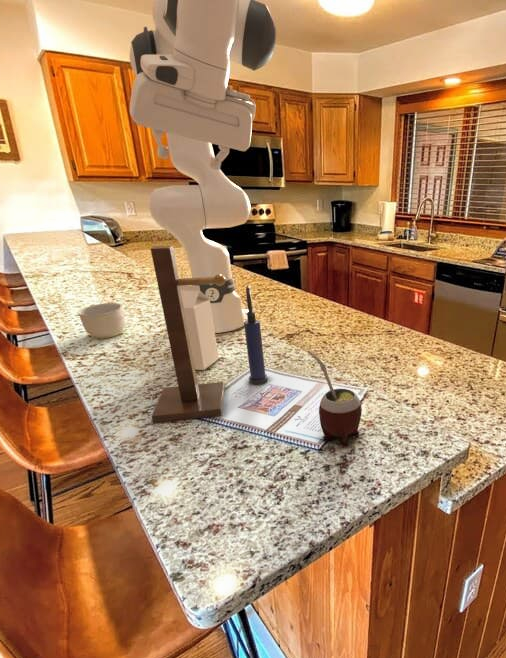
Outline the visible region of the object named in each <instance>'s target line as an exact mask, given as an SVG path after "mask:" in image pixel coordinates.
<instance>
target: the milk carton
mask: <svg viewBox="0 0 506 658" xmlns="http://www.w3.org/2000/svg"><path fill="white" fill-rule="evenodd" d="M180 289H181V294H182V300H183V305H184V311H185V316H186V322H187V327H188V333H189V338H190V344H191V349H192V355H193V360H194V366H195V371H196V370H197V371H205V370H207V369H208V368H209V367H210V366H212V365H213V364H214V363H216V362H217V361H218V360H219V351H218V345H217V338H216V333H215V330H214V324H213V317H212V311H211V304H210V299H209V298H208V297H206V296H205V295H204V294H203V293H202V292H201V291H200V287H199V286H193V285H184V286H180Z"/></svg>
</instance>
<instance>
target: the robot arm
mask: <svg viewBox="0 0 506 658" xmlns="http://www.w3.org/2000/svg"><path fill="white" fill-rule="evenodd" d="M152 21H153V24H154V30H153V29H151V30H148V27H147V26H144V27H143V31H142V32H140V33H138V34H136V35H135V36H134V37H133V39H132V40H131V42H130V43H131V45H130V47H129V63H130V66H131V69H132V72H133V75H134V76H135V78H134V80H133V84H132V88H131V94H130V102H129V114H130V117H131V119H132V120H133V122H134V123H135V124H136V125H137V126H140V127H144V128H148V129H151V133H152V135H153V138H154V140H155V142H156V144H157V149H156V151H157V157H158V158H160V159H165V160H169V159H168V158H170V162H171V163H172V165H173V167H174V168H175V169H176V170H177V171H178V172H180V173H181V174H182V175H185V176H186V177H188V178H191V179H192V180H194V181H195V182H196V183H197V184H183V185H181V184H177V185H176V184H175V185H173V184H172V185H168V186H162V187H158V188H155V189H154V190H153V191H152V192H151V194H150V196H149V199H148V210H149V213H150V215H151V217H152V219H153V221H154V222H155V223H156V224H157V225H158V226H159V227H160V228H162V229H164V230H165V231H167V232H168V233H170V234H171V235H172V236H173V237H174V238H175V239H176V240H177V241H178V243H179V244H180V245H181V247H182V249H183V251H184V252H185V255H186V258H187V262H188V266H189V271H190V276H191V278H203V277H215V276H216V275H218V274H220V275H223V276H224V277H225V283H224V285H222V286H218V285H216V284H203V285H193V286H199V287H200V291H201V292H202V293H203V294H204V295H205V296H206V297H208V298H209V299H210V304H211V311H212V317H213V324H214V330H215V334H220V333H221V334H222V333H228V332H231V331H235V330H238V329H241V328H242V327H244V322H245V321H247V320H248V318H247V312H248V308H247V309H245V308H244V307H243V303H242V297H240V295H239V294H237V293H236V283H235V279H234V277H233V274H232V267H231V266H232V265H231V259H230V253H229V251H228V249H227V248H226V247H225V246H224V245H223V244H220V243H218V242H215V241H214V240H210V239H208V238H207V237H205V235H204V234H203V230H206V229H225V228H233V227H237V226H241V225H244V224H246V222H247V221H248V220H249V218H250V215H251V209H252V208H251V202H250V199H249V196H248V195H247V193H246V192H245V190H244V189H242V188H241V187H240V186H238V185H236V184H235V183H234V182H232V181H231V180H230V179H229V178H228V177H227V176H226V175H225V173H224V172H223V171H222V169H221V166H222V162H224V160H225V159H226V158H227V157H228V155H229V154H230V149H232V150H237V151H240V152H246V151H247V150H248V149H249V148H250V146H251V140H252V130H253V129H252V128H253V121H254V119H255V118H256V117H255V116H256V112H257V111H256V110H257V106H256V102H255V101H254V99H252V98H251V95H249V94H247V93H242V92H239V91H237V90H235V89H233V88H230V87H228V83H229V78H230V72H231V71H230V70H231V61H232V62H234V63H237V64H239V65H242V67H245V68H247V69H249V70H251V71H253V72H254V71H257V70H260V69H261V68H263V67H264V66H266V65H267V64H268V63H270V60H271V58H272V56H273V54H274V51H275V47H276V41H277V27H276V24H275V21H274V19H273V16H272V14H271V11H270V10H269V8H268V6H267V5H266V4H265V3H262V2H260V1H257V0H153V3H152ZM164 132H165V135H166V139H167V145H165V144H163V143H162V140H161V138H164ZM213 145H216V146H218V149H219V151H218V153H217V154H216V155H215V152H214V147H213Z"/></svg>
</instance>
